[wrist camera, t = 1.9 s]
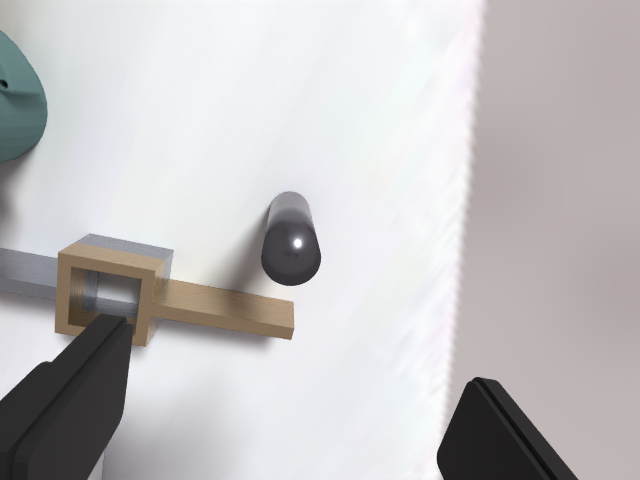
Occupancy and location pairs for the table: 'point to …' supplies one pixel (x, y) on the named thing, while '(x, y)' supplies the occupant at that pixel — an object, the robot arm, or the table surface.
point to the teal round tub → (19, 102)
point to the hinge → (155, 296)
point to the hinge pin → (290, 241)
